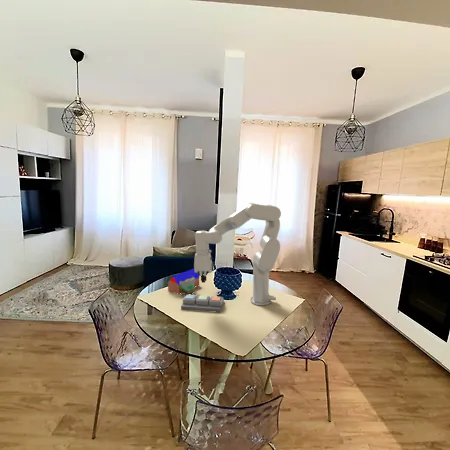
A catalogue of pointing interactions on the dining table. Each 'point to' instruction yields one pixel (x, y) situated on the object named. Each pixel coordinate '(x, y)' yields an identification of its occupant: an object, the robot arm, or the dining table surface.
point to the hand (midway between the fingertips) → (203, 281)
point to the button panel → (202, 304)
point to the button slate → (190, 297)
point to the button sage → (203, 298)
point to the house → (175, 280)
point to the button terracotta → (216, 299)
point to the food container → (187, 286)
